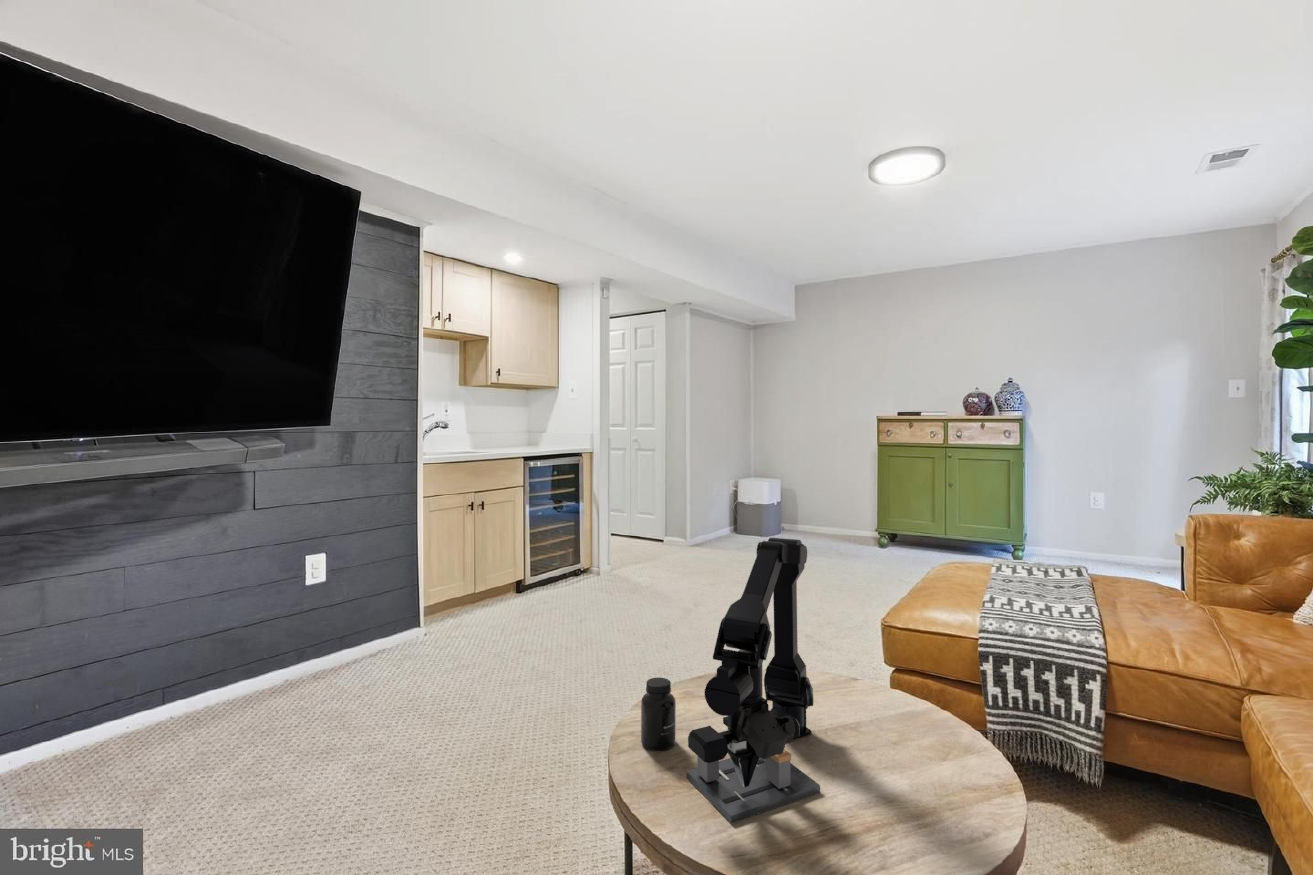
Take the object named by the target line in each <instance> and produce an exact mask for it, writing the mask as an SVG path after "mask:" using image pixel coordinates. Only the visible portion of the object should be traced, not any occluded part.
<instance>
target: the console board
mask: <svg viewBox="0 0 1313 875" xmlns="http://www.w3.org/2000/svg"><path fill="white" fill-rule="evenodd" d="M686 779H687V780H688V781H689V782H690V783H691V784H692V785H693V786H694V787H695V788H696V789H697V791H699V792H700V794H702V796H703V797H704V798H706V799H707V801H708V802H709V803H710V804H711V805H712V806H713V807H714V808H716V810H717V811H718V812H719V813H720V814H721V815H722V816H723V818H725V820H727V821H728V822H729V824H731V825H732V824H735V823H737V822H741V821H743V820H745V819H746V820H747V819H748V818H750V817H754V816H757V815H760V814H763V813H766V812H769V811H771V810H774V809H776V808H779V807H782V806H785V805H788V804H792V803H793V802H796V801H799V800H802V799H805V798H808V797H811V796H814V795H817V794H820V793H821V785H820V783H818V782H816V781H815V780H814V779H813V778H812V777H810V776H809V775H807V774H806V773H805V772H803V771H802V770H801V769H800V768H798V767H797V766H795V765H794V764H793V763H791V762H790V785H789V786H786V787H783V788H780V789H779V788H777V787H776V786H775V785H774V784H773V783H771V782H770V781H769V780H768V779H767V759H762V758H759V760H758V762H757V765H756V767H755V770H754V773H753V776H752V779H751V781H750V784H749V786H747V787H744V786H742V784H741V782H740V780H739V777H738V775H737V773H736V770H735V768H734V765H733V763H732V761H731V758H730V757H729V758H726V759H725V758H724V759H722V760H719V779H717V780H714V781H710V782H706V781H705V780H704V779H703V778H702V777H701V776H700V775H699V774H698V773H697V767H696V768H693V769H692V768H691V769H689V770H686Z"/></svg>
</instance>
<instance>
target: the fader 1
mask: <svg viewBox="0 0 1313 875" xmlns="http://www.w3.org/2000/svg"><path fill="white" fill-rule="evenodd" d="M696 756H697V755H696ZM696 758H697V759H696V760H697V761H696V762H697V767H696V768H697V773H698V774H699V775H700V776H701V777H702V778H703V779H704V780H705V781H706V782H710V781H714V780H717V779H719V761H720V760H718V761H715V762H711V763H707V762H704V761H703V760H702V759H701V758H700V757H698V756H697V757H696Z"/></svg>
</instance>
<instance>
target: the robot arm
mask: <svg viewBox="0 0 1313 875" xmlns="http://www.w3.org/2000/svg"><path fill="white" fill-rule="evenodd" d="M807 560H808V548H807V546H806V545H805V544H803V543H802V541H801V539H794V538H793V539H792V538H783V537H782V538H781V537H769V538H768V540H763V541H759V542H758V544H757V547H756V557H755V559H754V562H753V565H752V568H751V570H750V573H749V575H748V578H747V581H746V583H745V587H744V590H743V593H742V594H741V597H740V598H738V599H737V600H736V601H734V602H733V603H732V604H730V606H729V608H728V609H727V611H726V613H725V615H724V617H723V618H722V619H721V622H720V624H719V627H718V628H719V629H718V631H717V632H718V633H717V637H716V642H715V646H714V651H713V654H712V659H713V660H714V661H721V665H719V666H718V667H717V668H716V674H715V675H714V676H712V677H711V678H710V679H709V680H708V682H706V685H705V689H704V698H705V701H706V704H707V706H708V707H709V708H710V709H711V710H712V711H713V712H714V713H715V714H717V715H720V716H723V717H722V724H723V725H725V726H726V728H727V730H723V731H719V732H718V731H717V730H716V729H714V728H713V727H712V726H711V725H707V726H704V727H703V726H702V727H699V728H695V729H692V730H691V731H689V734H688V737H687V747H688V748H689V750H691V751H692V752H693V753H694V754H695V755H696V756H698V757H700V758H701V759H702V760H703V761H704V762H707V763H711V762H715V761H718V760H719V761H722V760H725V757H726V756H727V754H728V756H729V758H731V761H732V763H733V765H734V768H735V770H736V773H737V775H738V777H739V780H740V782H741V784H742V786H744V787H747V786H749V784H750V781H751V779H752V776H753V773H754V770H755V767H756V765H757V762H758V760H759V758H762V759H767V758H769V757H770V756H774V755H777V754H778V755H780V754H782V753H783V751H784V749H785V748H786V745H787V744H791V743H793V742H794V739H798V738H802V737H804V736H808V735H811V734H812V732H813V731H812V730H811V729H810V728H808V727H807V709H808V708H809V707H813V706H814V689H813V686H812V683H811V682H810V678H809V677H807V665H806V663H805V662H804V660H803V658H802V657H801V655H800V654H799V652H798V648H799V646H798V602H797V601H798V598H797V597H798V593H797V586H798V585H797V584H798V583H797V581H798V579H799V578H800V577H801V575H802V574H803V572H804V570H805V568H806V567H805V564H806V563H807ZM772 596H773V599H772ZM771 599H772V600H773V635H772V631H771V627H770V622H769V618H768V613H767V612H768V610H769V606H770V603H771ZM772 636H773V644H774V645H773V646H774V647H773V648H774V652H773V654H774V655H773V656H772V658H771V659H770V661H769V663H768V664H767V666H766V669H765V672H764V677H763V662H764V661H766V660H767V657H768V653H769V648H770V645H771V641H772ZM725 647H727V648H729V649H727V648H725ZM730 648H731V649H730ZM734 649H736V650H734ZM763 686H764V692H765V698H764V696H763ZM770 701H771V702H772V707H771V709H770V710H769V703H768V702H770Z"/></svg>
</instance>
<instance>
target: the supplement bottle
mask: <svg viewBox="0 0 1313 875" xmlns="http://www.w3.org/2000/svg"><path fill="white" fill-rule="evenodd" d="M671 684H672V683H671V680H669V679H668V678H665V677H652V678H649V679H648V680H646V684H645V685H646V688H645V694H644V695H643V696H642V697H641V701H640V702H641V704H640V709H641V710H640V741H641V744H642V745H643V747H644V748H645V749H648V750H651V751H666V750H668V749H671V748H672V747H674V745H675V743H676V719H677V718H676V717H677V716H676V713H677V712H676V708H677V705H676V704H677V703H676V698H675V696H674V695H673V694H672V693H671V692H672V687H671V686H672V685H671Z"/></svg>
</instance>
